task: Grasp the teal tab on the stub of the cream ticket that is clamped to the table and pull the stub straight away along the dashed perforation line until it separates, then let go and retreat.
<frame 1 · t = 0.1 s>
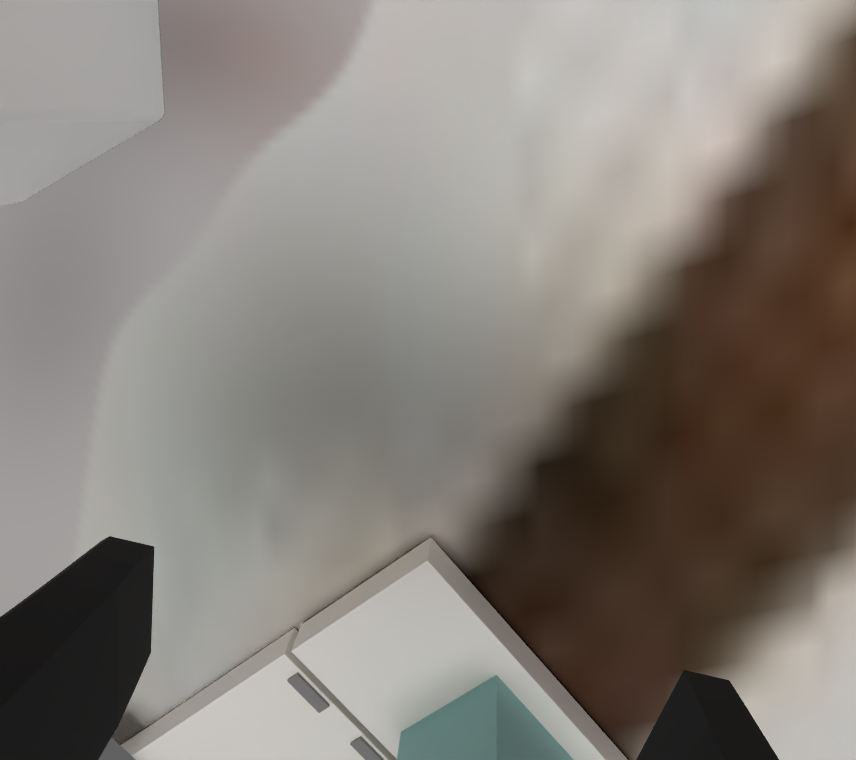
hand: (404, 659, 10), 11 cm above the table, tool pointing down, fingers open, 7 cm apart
jar: (6, 8, 18), on the table
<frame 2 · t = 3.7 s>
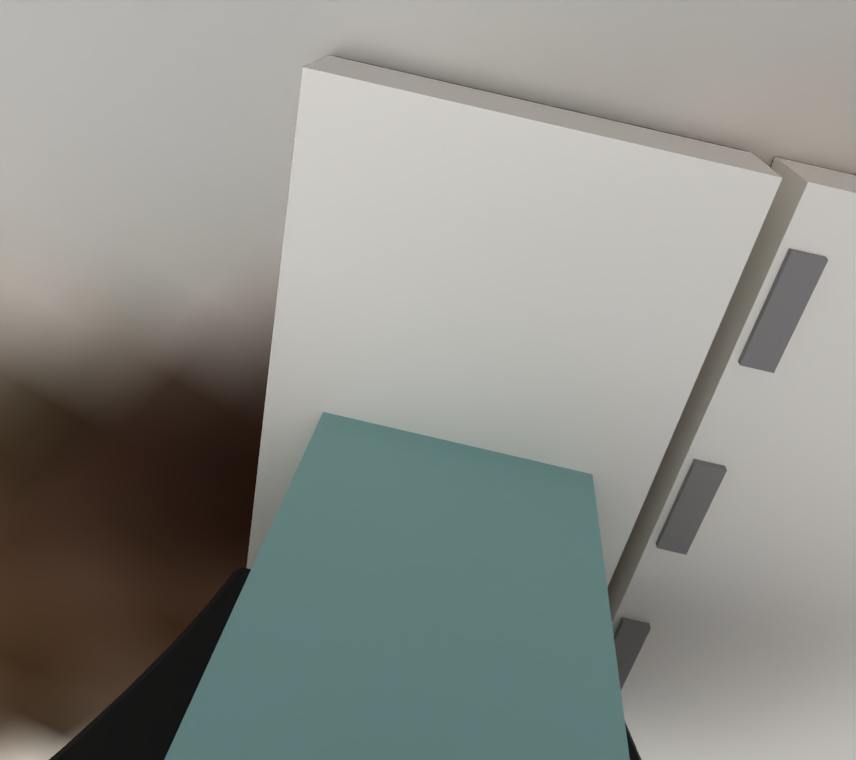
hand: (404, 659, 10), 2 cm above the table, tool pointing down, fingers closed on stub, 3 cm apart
stub: (390, 741, 9), point 3 cm above the table, slide at 0.0 cm, touching gripper
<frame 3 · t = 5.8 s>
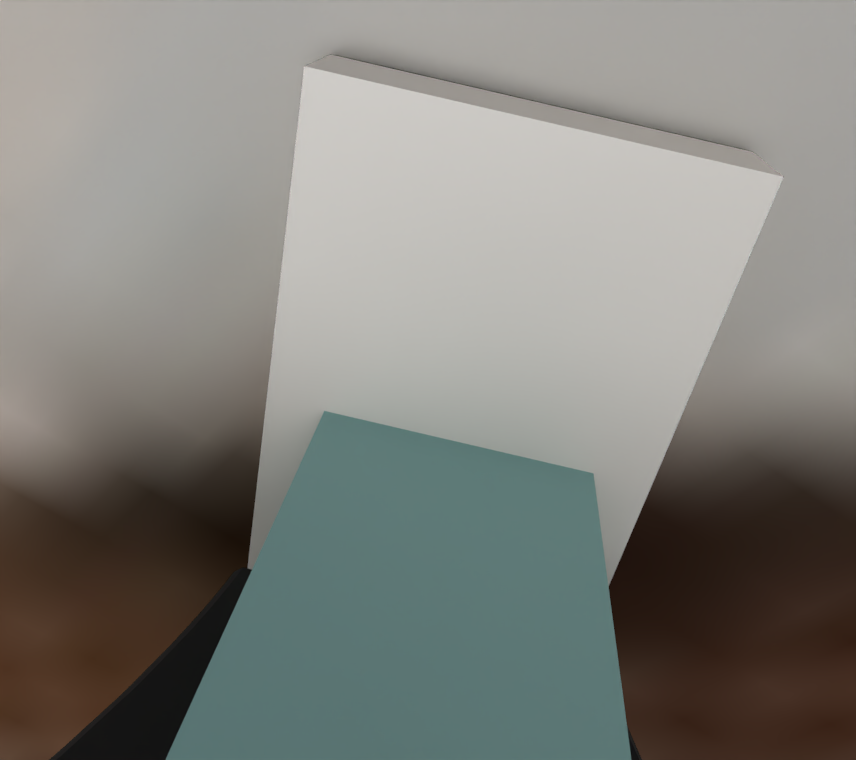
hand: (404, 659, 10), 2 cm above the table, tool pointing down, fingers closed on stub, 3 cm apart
stub: (391, 739, 9), point 3 cm above the table, slide at 6.5 cm, touching gripper
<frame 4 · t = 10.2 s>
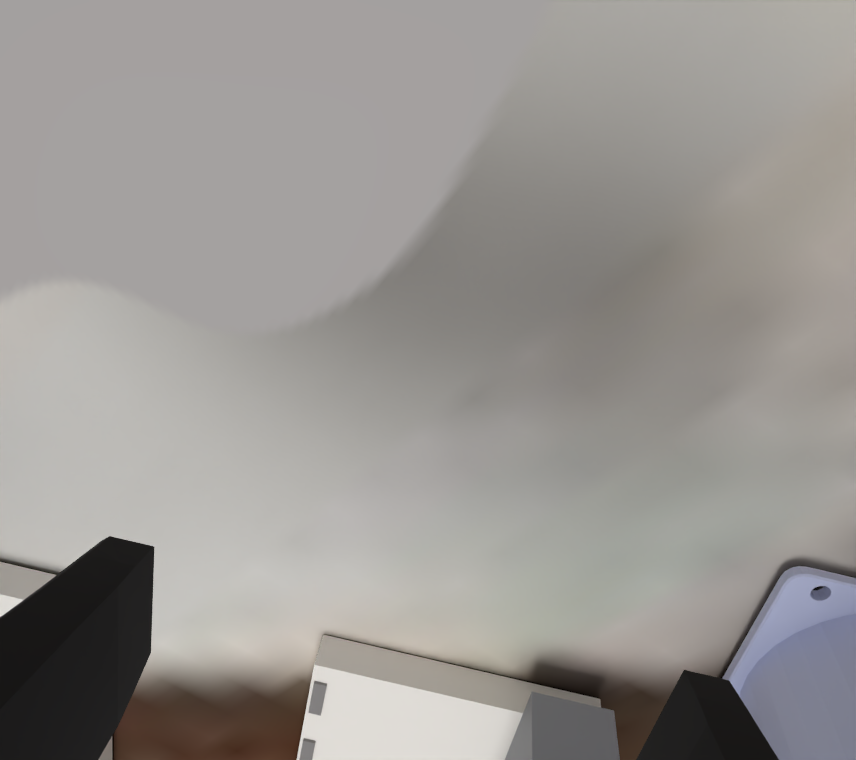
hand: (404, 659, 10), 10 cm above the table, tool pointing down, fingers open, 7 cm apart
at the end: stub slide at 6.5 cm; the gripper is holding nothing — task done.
